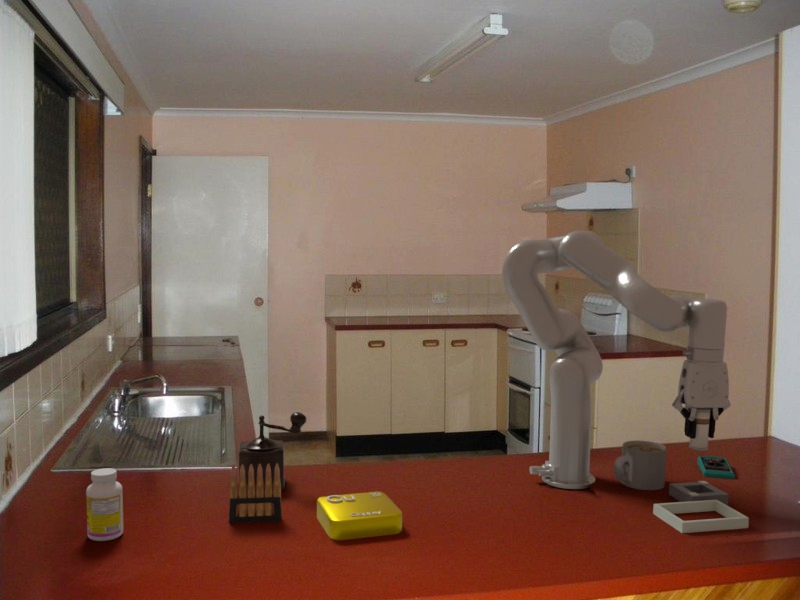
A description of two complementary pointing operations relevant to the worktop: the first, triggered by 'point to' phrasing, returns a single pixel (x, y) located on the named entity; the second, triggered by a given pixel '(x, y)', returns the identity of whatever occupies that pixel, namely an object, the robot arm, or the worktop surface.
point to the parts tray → (730, 522)
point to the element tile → (358, 515)
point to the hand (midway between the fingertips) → (699, 435)
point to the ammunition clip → (255, 496)
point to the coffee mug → (641, 465)
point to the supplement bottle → (104, 506)
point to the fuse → (701, 430)
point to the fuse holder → (697, 492)
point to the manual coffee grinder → (267, 449)
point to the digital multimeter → (715, 467)
